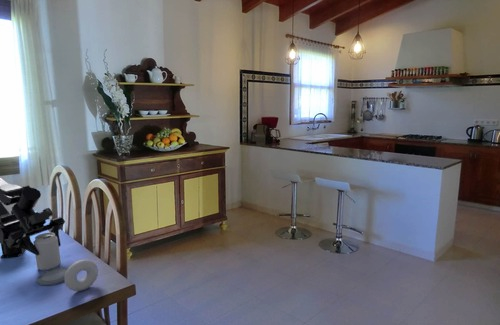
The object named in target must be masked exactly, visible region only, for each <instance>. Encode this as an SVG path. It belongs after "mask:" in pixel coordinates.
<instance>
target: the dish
mask: <svg viewBox="0 0 500 325" xmlns="http://www.w3.org/2000/svg"><path fill="white" fill-rule="evenodd" d="M68 268H69V267H56V268H54V269H51V270H45V272H43V273H41V274H40V275H38V277H37V283H38V285H40V286H42V287H43V286H45V287H48V286H49V287H50V286H54V285H55V286H56V285H58V284H61V283H65V281H64V279H65V274H66V271H67V270H68Z"/></svg>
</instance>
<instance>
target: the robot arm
mask: <svg viewBox="0 0 500 325" xmlns="http://www.w3.org/2000/svg"><path fill="white" fill-rule="evenodd" d="M41 195H42V194H41V191H40V190H38V189H37V188H35V187H31V186H30V185H25V186H20V185H18V184H11V183H9V182H7V181H6V180H4V179H3V178H1V177H0V247H1V253H2V254H1V255H0V258H1V259H3V258H18V257H20V256H21V255H22V254H23V253H24V252H25V251H28V252H29V253H32V254H33V255H39V252H38V250H37V249H36V247H35V246H34V243H33V241H32V240H31V237H32V236H35V235H37V234H38V235H39V234H42V233H45V232H46V231H48V233H54V234H55V236H57V238H58V245H59V247H61V240H60V234H59V233H60V230H61V229H62V228H63V226H64V224H65V223H66V221H65V219H64V218H63V217H61V216H58V217H55V218H53V219H51V220H50V217H53V215H54V213H53V211H52V210H51V208H50V207H47V208H44V209H42V211H41V212H38V211H35V210H34V208H35V207H36V205H37V204H38V202H39V200H40V198H41ZM10 205H13V206H12V207H11V210H10V212H9V211H8V210H7V208H6V206H10ZM48 220H50V221H49V223H48V224H46V223H47V221H48Z"/></svg>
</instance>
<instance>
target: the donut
mask: <svg viewBox="0 0 500 325" xmlns="http://www.w3.org/2000/svg"><path fill="white" fill-rule="evenodd" d="M67 268H68V270H67V271H66V274H65V279H64V283H65V286H66V287H67V288H68V289H69V290H71V291H73V292H81V291H85V290H87V289H88V288H90V287H91V286H93V284H94V283H96V281H97V279H98V278H97V277H98V275H99V268H98V266H97V264H96V263H95V261H92V260H91V259H86V258H85V259H80V260H77V261H75V262H74V263H72V264H71V265H70V266H69V267H67ZM82 271H85V272H86V275H85V277H83V278H82V279H78V277H77V276H78V274H79V273H80V272H82Z"/></svg>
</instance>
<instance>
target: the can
mask: <svg viewBox="0 0 500 325" xmlns="http://www.w3.org/2000/svg"><path fill="white" fill-rule="evenodd" d="M32 243H33V244H34V246H35V247H36V249H37V250H38V252H39V255H35V254H34V255H35V262H36V263H35V264H36V268H37V269H38V270H41V271H49V270H52V269H56V268H58V266H59V265H61V255H60V246H59V245H58V238H57V236H55V234H54V233H50V232H42V233H39V234H38V235H36V236H35V237H34V240H33V241H32Z"/></svg>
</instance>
